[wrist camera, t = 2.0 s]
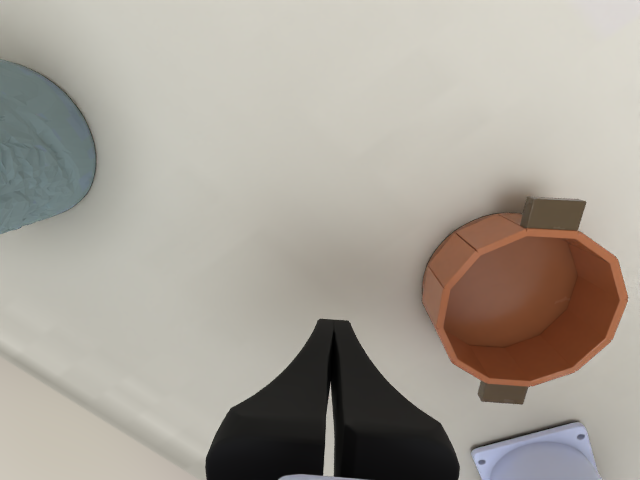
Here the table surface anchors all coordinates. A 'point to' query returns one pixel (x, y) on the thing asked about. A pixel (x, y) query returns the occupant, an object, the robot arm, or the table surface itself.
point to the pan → (523, 297)
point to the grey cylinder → (40, 149)
